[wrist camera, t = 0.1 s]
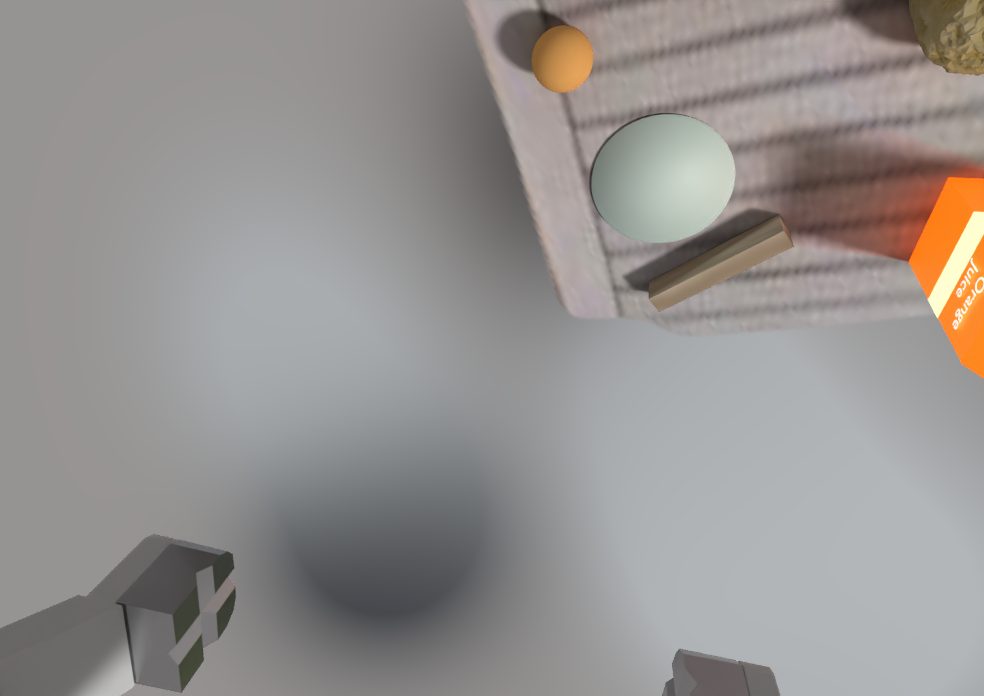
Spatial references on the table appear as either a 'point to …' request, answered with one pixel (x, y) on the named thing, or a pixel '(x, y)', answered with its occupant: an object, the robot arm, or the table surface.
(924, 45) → the rock
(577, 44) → the ball
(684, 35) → the table surface
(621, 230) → the disc
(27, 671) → the robot arm
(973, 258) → the orange juice
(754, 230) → the bar
